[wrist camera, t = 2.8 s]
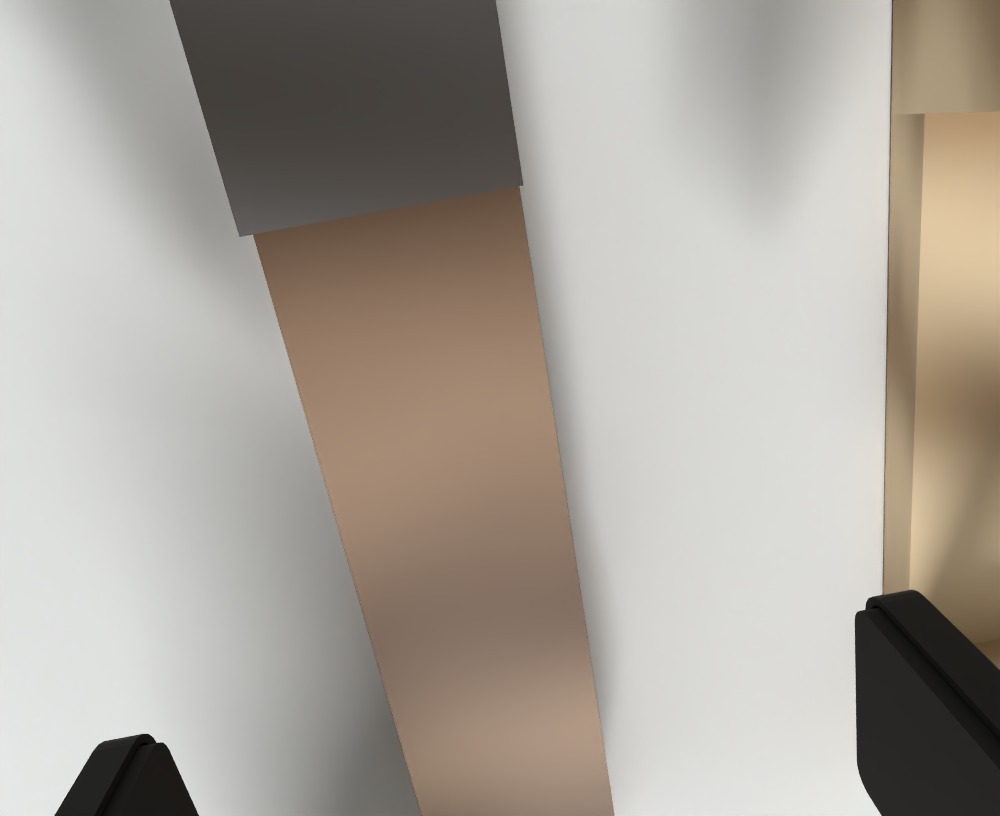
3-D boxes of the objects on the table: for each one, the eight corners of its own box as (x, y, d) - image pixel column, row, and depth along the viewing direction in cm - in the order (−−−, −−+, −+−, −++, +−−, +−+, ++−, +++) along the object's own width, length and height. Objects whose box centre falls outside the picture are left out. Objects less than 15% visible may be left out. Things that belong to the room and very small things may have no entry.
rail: (257, -14, 12) (138, -102, 7) (460, -50, 12) (471, -161, 8) (470, 821, 20) (479, 1042, 15) (597, 797, 20) (646, 1011, 15)
